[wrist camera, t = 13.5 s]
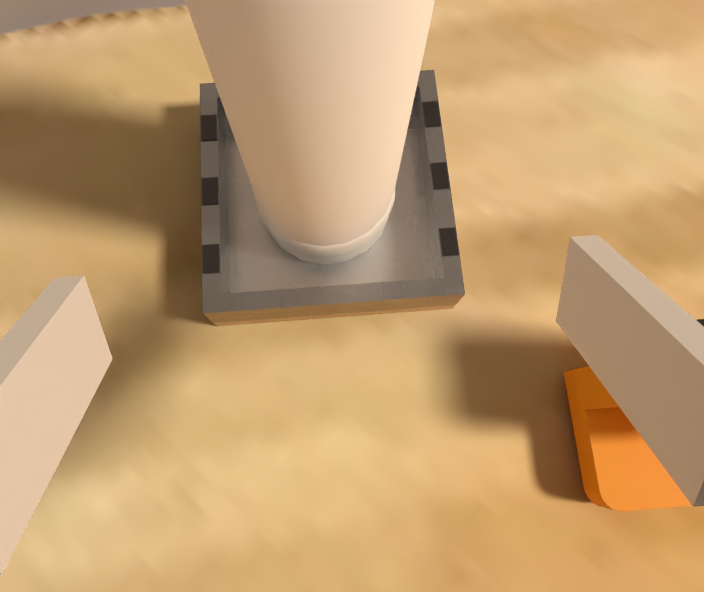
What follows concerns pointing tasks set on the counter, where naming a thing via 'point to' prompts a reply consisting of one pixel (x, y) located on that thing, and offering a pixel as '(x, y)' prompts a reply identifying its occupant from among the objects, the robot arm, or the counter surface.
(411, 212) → the open square box
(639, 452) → the bracket
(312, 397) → the counter surface
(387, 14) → the bottle
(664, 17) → the counter surface
